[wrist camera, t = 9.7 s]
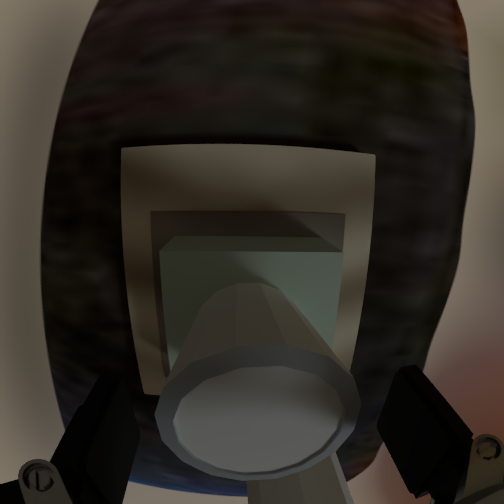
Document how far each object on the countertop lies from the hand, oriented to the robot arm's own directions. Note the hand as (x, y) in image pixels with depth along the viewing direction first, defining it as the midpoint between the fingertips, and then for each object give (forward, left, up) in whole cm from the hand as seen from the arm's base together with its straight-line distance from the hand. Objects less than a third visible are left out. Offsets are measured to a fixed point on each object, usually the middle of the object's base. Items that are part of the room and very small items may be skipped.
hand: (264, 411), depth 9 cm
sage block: (+1, 0, -10) cm, 10 cm away
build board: (0, 0, -12) cm, 12 cm away
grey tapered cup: (0, 0, -7) cm, 7 cm away
